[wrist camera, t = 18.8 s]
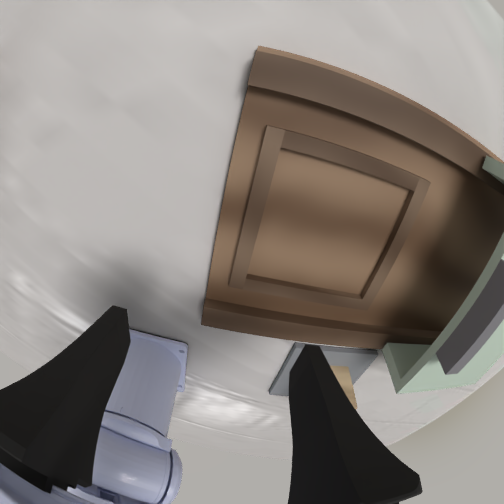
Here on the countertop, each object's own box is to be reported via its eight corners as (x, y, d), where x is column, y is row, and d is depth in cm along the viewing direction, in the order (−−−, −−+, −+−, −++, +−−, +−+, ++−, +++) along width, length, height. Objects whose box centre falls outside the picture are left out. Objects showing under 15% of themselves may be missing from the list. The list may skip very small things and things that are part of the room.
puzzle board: (457, 344, 25) (462, 353, 24) (203, 314, 22) (200, 328, 21) (541, 200, 15) (551, 206, 14) (258, 47, 12) (258, 42, 11)
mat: (339, 394, 29) (340, 398, 29) (269, 390, 29) (269, 394, 28) (376, 350, 25) (378, 354, 24) (295, 342, 24) (295, 347, 24)
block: (332, 386, 27) (338, 424, 23) (298, 384, 27) (302, 425, 23) (348, 366, 25) (357, 407, 21) (312, 364, 25) (318, 407, 21)
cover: (458, 351, 23) (480, 398, 17) (381, 349, 22) (402, 413, 16) (545, 208, 14) (589, 245, 8) (486, 155, 12) (557, 194, 7)
